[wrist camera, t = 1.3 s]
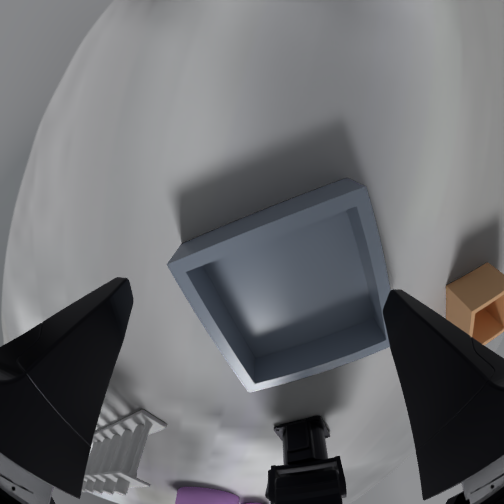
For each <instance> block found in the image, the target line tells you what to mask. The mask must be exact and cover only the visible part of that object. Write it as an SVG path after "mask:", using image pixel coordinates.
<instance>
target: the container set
mask: <svg viewBox="0 0 504 504" xmlns="http://www.w3.org/2000/svg"><path fill="white" fill-rule="evenodd" d="M175 504H239V497H238V496H236V495H235V494H232V493H229V492H225V491H221V490H216V489H210V488H202V487H181V488H179V489H178V492H177V497H176V502H175ZM246 504H262V503H246Z"/></svg>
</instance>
